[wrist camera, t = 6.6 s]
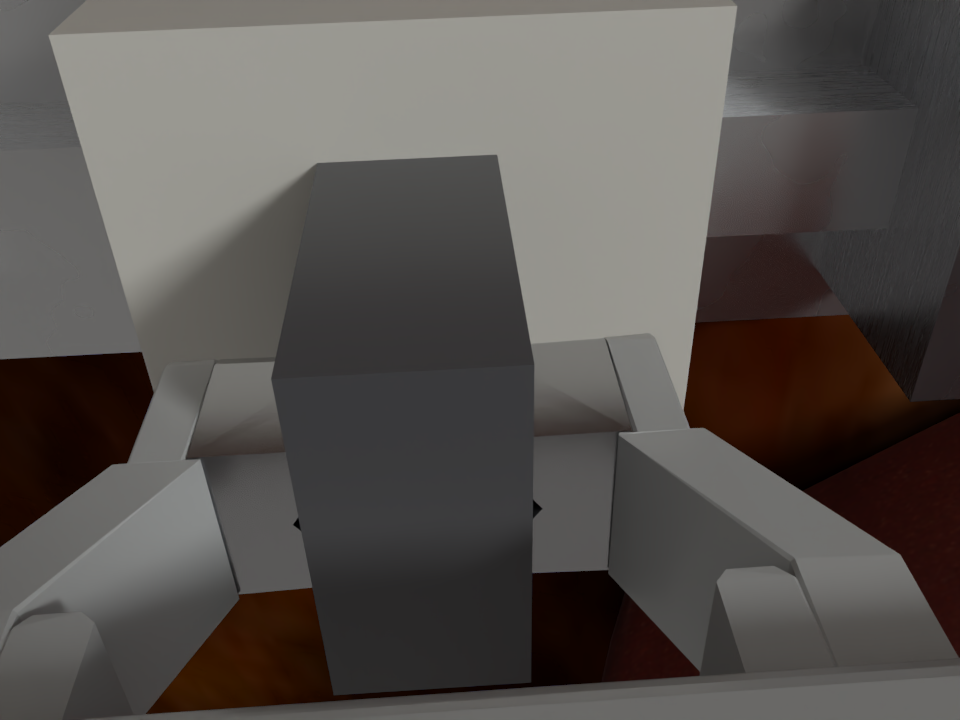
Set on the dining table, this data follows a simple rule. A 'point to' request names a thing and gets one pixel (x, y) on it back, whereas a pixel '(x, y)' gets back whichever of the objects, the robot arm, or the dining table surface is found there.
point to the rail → (734, 206)
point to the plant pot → (874, 509)
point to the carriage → (404, 260)
